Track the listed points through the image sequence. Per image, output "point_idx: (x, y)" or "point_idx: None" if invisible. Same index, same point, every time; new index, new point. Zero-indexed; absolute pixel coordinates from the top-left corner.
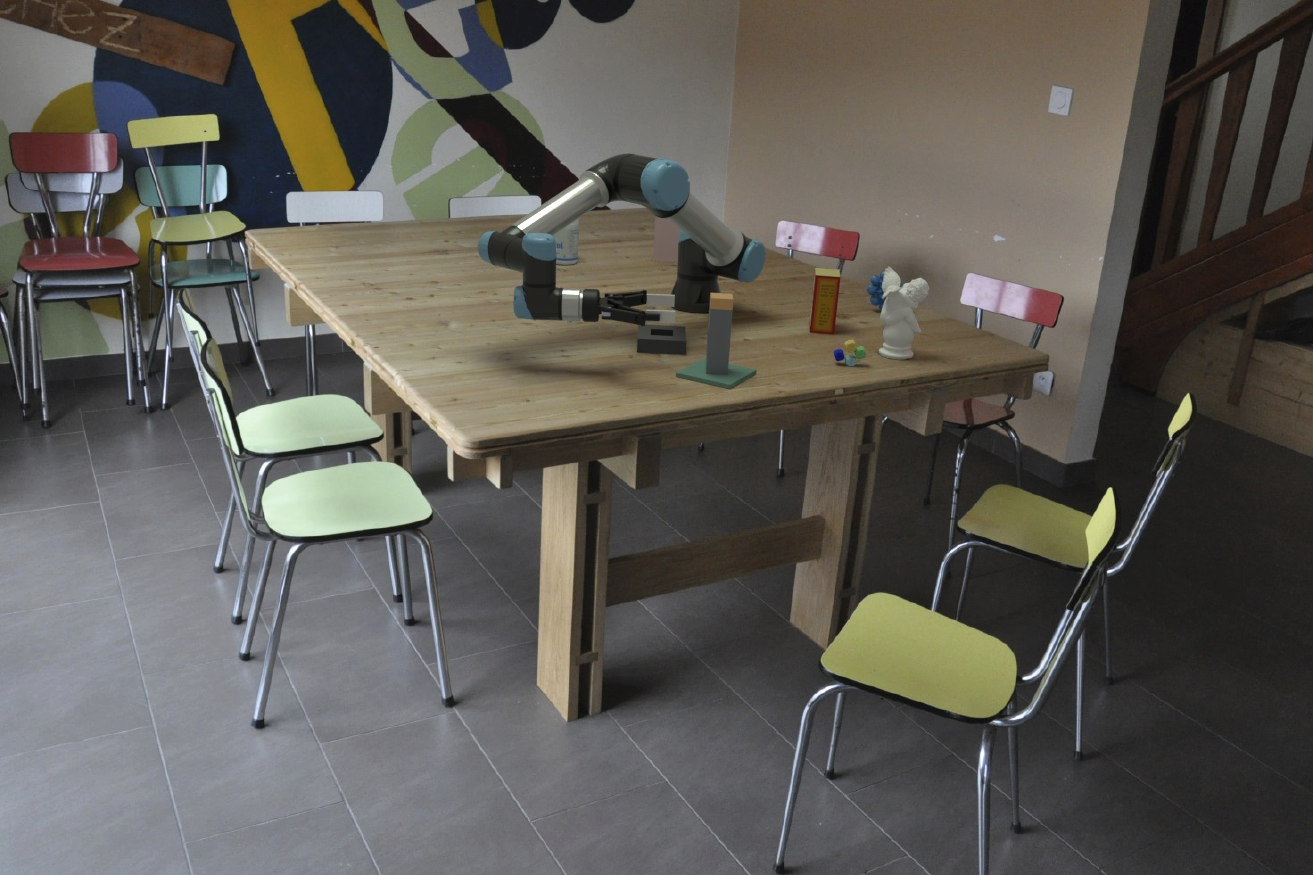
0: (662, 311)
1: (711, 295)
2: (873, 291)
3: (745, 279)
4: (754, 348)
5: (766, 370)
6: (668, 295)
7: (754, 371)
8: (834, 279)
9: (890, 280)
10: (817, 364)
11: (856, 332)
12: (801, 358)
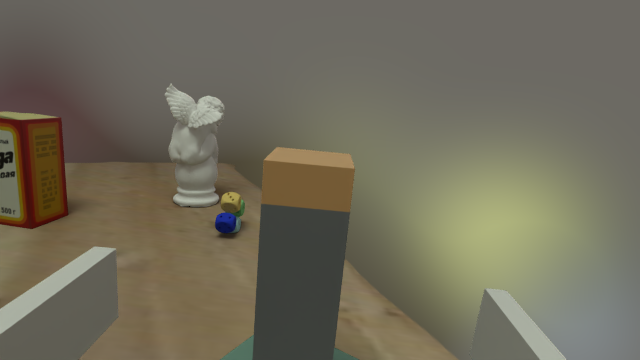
0: (553, 348)
1: (309, 163)
2: None
3: None
4: None
5: (250, 309)
6: (87, 268)
7: None
8: (53, 122)
9: (189, 102)
10: (222, 252)
11: (75, 201)
12: (181, 259)
